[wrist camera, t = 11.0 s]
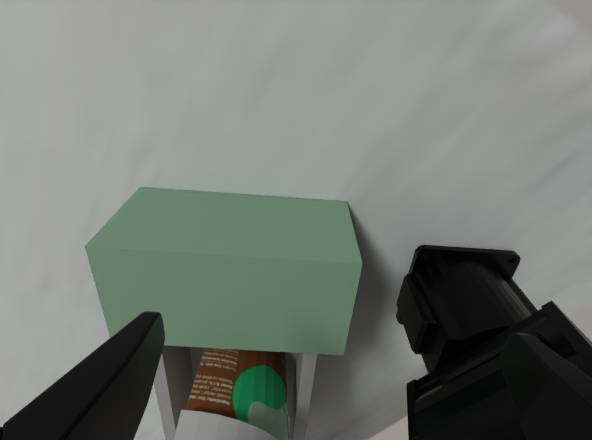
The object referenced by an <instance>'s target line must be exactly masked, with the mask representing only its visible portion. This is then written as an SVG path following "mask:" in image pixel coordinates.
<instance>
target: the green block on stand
mask: <svg viewBox="0 0 592 440" xmlns="http://www.w3.org/2000/svg"><path fill="white" fill-rule="evenodd" d="M85 248H86V252H87V256H88V259H89V263H90V266H91V270H92V274H93V277H94V281H95V284H96V288H97V291H98V295H99V299H100V302H101V306H102V309H103V313H104V317H105V320H106V324H107V327H108V331H109V335H110V338H111V337H112V336H113V335H115V334H116V333H117V332H118V331H120V330H121V329H122V328H123V327H125V326H126V325H127V324H128V323H130V322H131V321H132V320H133V319H135V318H136V317H137V316H138V315H140V314H141V313H142V312H144V311H153V312H160V313H161V314H162V318H163V324H164V330H165V343H164V347H163V350H162V354H161V357H160V361H159V365H158V368H157V372H156V375H155V379H154V385H155V390H156V395H157V400H158V404H159V409H160V414H161V419H162V424H163V429H164V433H165V438H166V440H174V437H175V433H176V429H177V425H178V421H179V417H180V413H181V410H185V409H186V406H187V403H188V400H189V397H190V394H191V390H192V387H193V384H194V381H195V378H196V375H197V372H198V369H199V366H200V362H201V359H202V356H203V353H204V350H205V348H220V349H238V350H256V351H274V352H285V358H286V382H287V406H288V416H290V435H289V440H304V439H305V432H306V426H307V419H308V413H309V406H310V399H311V393H312V386H313V380H314V373H315V367H316V360H317V354H327V355H344V351H345V346H346V341H347V336H348V332H349V327H350V322H351V317H352V313H353V308H354V303H355V298H356V293H357V289H358V284H359V279H360V274H361V270H362V265H363V263H362V259H361V255H360V251H359V247H358V244H357V240H356V236H355V232H354V228H353V224H352V220H351V216H350V212H349V208H348V204H347V201H334V200H319V199H304V198H290V197H275V196H261V195H246V194H232V193H217V192H202V191H188V190H173V189H159V188H144V187H140V188H139V189H138V190H137V191H136V192H135V193H134V194H133V195H132V196H131V197H130V198H129V200H128V201H127V202H126V203H125V204H124V205H123V206H122V207H121V208H120V209H119V210H118V211H117V212H116V213H115V214H114V216H113V217H112V218H111V219H110V220H109V221H108V222H107V223H106V224H105V225H104V226H103V227H102V228H101V229H100V231H99V232H98V233H97V234H96V235H95V236H94V237H93V238H92V239H91V240H90V241H89V242H88V243H87V244H86V246H85Z"/></svg>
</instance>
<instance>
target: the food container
mask: <svg viewBox="0 0 592 440" xmlns="http://www.w3.org/2000/svg"><path fill="white" fill-rule="evenodd" d="M174 440H289V431H288V406H287V382H286V358H285V352H274V351H256V350H238V349H220V348H205V350H204V353H203V356H202V359H201V362H200V366H199V369H198V372H197V375H196V378H195V381H194V384H193V387H192V390H191V394H190V397H189V400H188V403H187V406H186V409H185V410H181V413H180V417H179V421H178V425H177V429H176V433H175V437H174Z"/></svg>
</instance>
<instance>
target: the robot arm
mask: <svg viewBox="0 0 592 440" xmlns="http://www.w3.org/2000/svg"><path fill="white" fill-rule="evenodd" d="M423 252H427V253H426V254H424V255H421V254H422V253H423ZM510 258H512V259H511V260H509V259H510ZM519 262H520V257H519V255H518V254H517V253H516V252H514V251H508V250H493V249H477V248H462V247H447V246H432V245H422V246H419V247H418V248H417V249H416V250H415V253H414V257H413V260H412V263H411V267H410V270H409V274H407V275H406V276H405V277H404V280H403V283H402V287H401V290H400V294H399V297H398V300H397V307H398V311H397V314H396V318H397V321H398V322H399V323H400V324H403V325H404V328H405V331H406V334H407V337H408V340H409V343H410V346H411V349H412V351H413V352H414V353H415V354H421V355H422V358H423V361H424V363H425V366H426V369H427V372H428V374H427V375H425V376H423V377H421V378H420V379H418V380H415V379H414V380H413V381H411V382H409V383H407V408H408V432H409V440H592V342H591V341H590V340H589V339H588V338H587V337H586V336H585V335H584V334H583V333H582V332H581V331H580V330H579V328H577V326H576V325H575V324H574V323H573V322H572V321H571V320H570V319H569V318H568V317H567V316H566V315H565V314H564V313H563V312H562V311H561V310H560V309H559V308H558V307H557V305H556V304H555V303H554V302H553V301H550V302H548V303H546V304H545V305H543V306H541V307H542V309H540V310H539V311H538V310H537V309H536V308H535V307H534V305H533V304H532V303H531V302H530V300H529V299H528V298H527V297H526V295H525V294H524V293H523V292H522V291H521V289H520V288H519V287H518V286H517V284H516V283H515V282H514V281H513V279H512V276H513V274H514V272H515V270H516V268H517V266H518V264H519ZM164 343H165V330H164V324H163V318H162V314H161V313H160V312H153V311H144V312H142V313H141V314H140V315H138V316H137V317H136V318H135V319H133V320H132V321H131V322H130V323H128V324H127V325H126V326H125V327H123V328H122V329H121V330H120V331H118V332H117V333H116V334H115V335H113V336H112V337H111V338H110V339H108V340H107V341H106V342H105V343H104V344H102V345H101V346H100V347H99V348H97V349H96V350H95V351H94V352H92V353H91V354H90V355H89V356H87V357H86V358H85V359H84V360H82V361H81V362H80V363H79V364H77V365H76V366H75V367H74V368H72V369H71V370H70V371H69V372H68V373H66V374H65V375H64V376H63V377H61V378H60V379H59V380H58V381H56V382H55V383H54V384H53V385H51V386H50V387H49V388H48V389H46V390H45V391H44V392H43V393H41V394H40V395H39V396H38V397H36V398H35V399H34V400H33V401H32V402H30V403H29V404H28V405H27V406H25V407H24V408H23V409H22V410H20V411H19V412H18V413H17V414H15V415H14V416H13V417H12V418H10V419H9V420H8V421H7V422H5V423H4V425H3V427H0V440H133V439H134V437H135V434H136V432H137V429H138V427H139V424H140V422H141V419H142V417H143V414H144V411H145V409H146V406H147V403H148V400H149V397H150V393H151V390H152V386H153V382H154V379H155V375H156V372H157V368H158V365H159V361H160V357H161V354H162V350H163V347H164Z"/></svg>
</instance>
